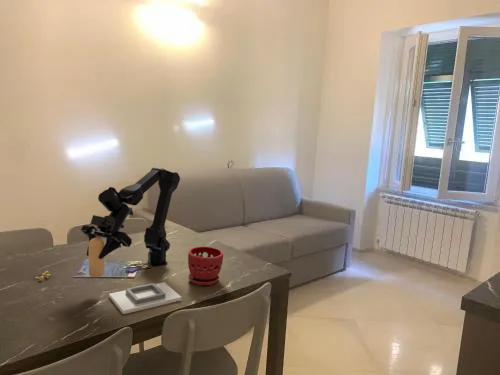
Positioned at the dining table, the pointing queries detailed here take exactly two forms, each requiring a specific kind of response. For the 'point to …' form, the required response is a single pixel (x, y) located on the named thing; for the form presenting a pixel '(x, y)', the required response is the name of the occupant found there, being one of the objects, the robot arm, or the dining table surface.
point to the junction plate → (144, 297)
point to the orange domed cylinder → (96, 257)
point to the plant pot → (204, 265)
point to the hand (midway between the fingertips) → (93, 257)
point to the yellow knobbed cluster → (44, 276)
